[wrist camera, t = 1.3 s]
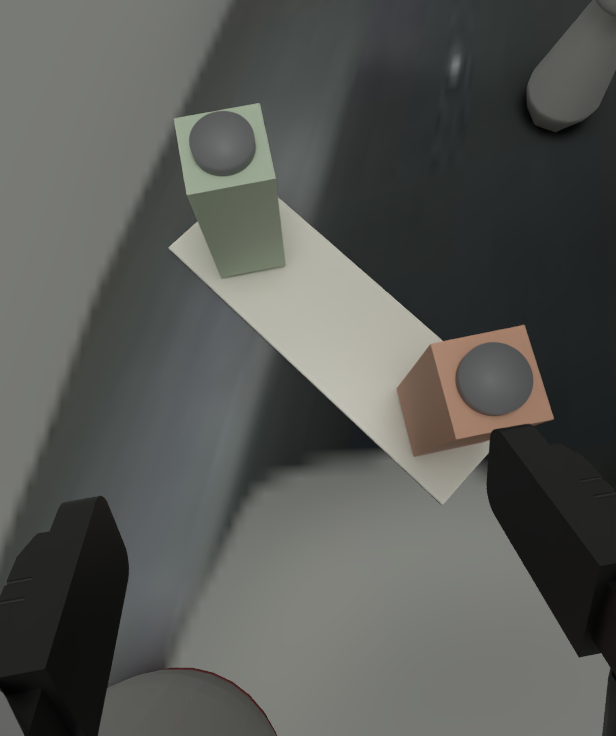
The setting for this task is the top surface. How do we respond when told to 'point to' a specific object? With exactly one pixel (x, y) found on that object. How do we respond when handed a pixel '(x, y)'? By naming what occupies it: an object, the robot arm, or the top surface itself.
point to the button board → (338, 339)
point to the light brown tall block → (472, 390)
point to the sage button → (232, 187)
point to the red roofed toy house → (181, 706)
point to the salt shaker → (575, 70)
